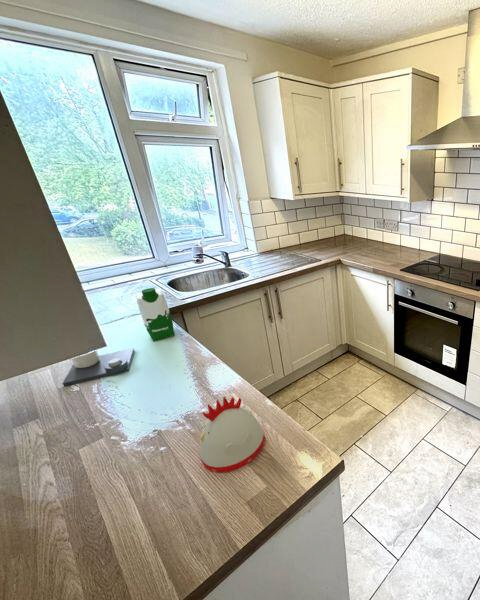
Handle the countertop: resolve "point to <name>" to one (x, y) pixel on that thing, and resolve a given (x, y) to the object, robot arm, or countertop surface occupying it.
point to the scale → (100, 368)
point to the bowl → (86, 360)
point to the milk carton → (155, 313)
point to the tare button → (114, 362)
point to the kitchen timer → (229, 437)
